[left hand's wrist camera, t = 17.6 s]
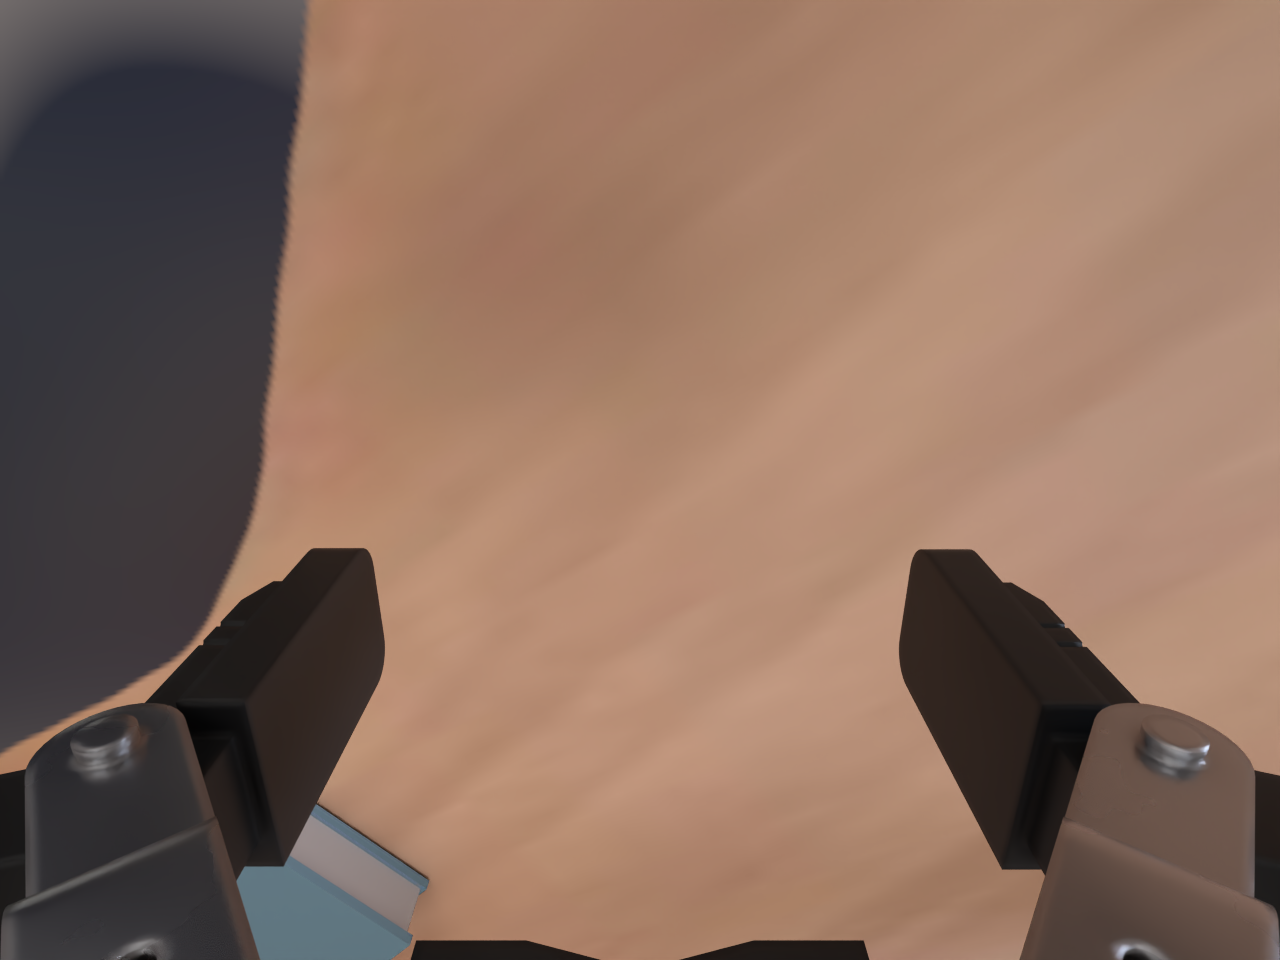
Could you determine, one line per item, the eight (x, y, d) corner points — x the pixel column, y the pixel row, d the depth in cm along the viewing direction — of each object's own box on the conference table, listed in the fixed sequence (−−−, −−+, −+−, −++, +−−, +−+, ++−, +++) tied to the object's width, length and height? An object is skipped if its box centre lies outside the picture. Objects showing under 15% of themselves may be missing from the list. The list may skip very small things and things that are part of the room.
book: (249, 1022, 61) (217, 1091, 57) (71, 921, 57) (20, 987, 52) (429, 880, 55) (409, 945, 51) (245, 756, 51) (206, 814, 47)
